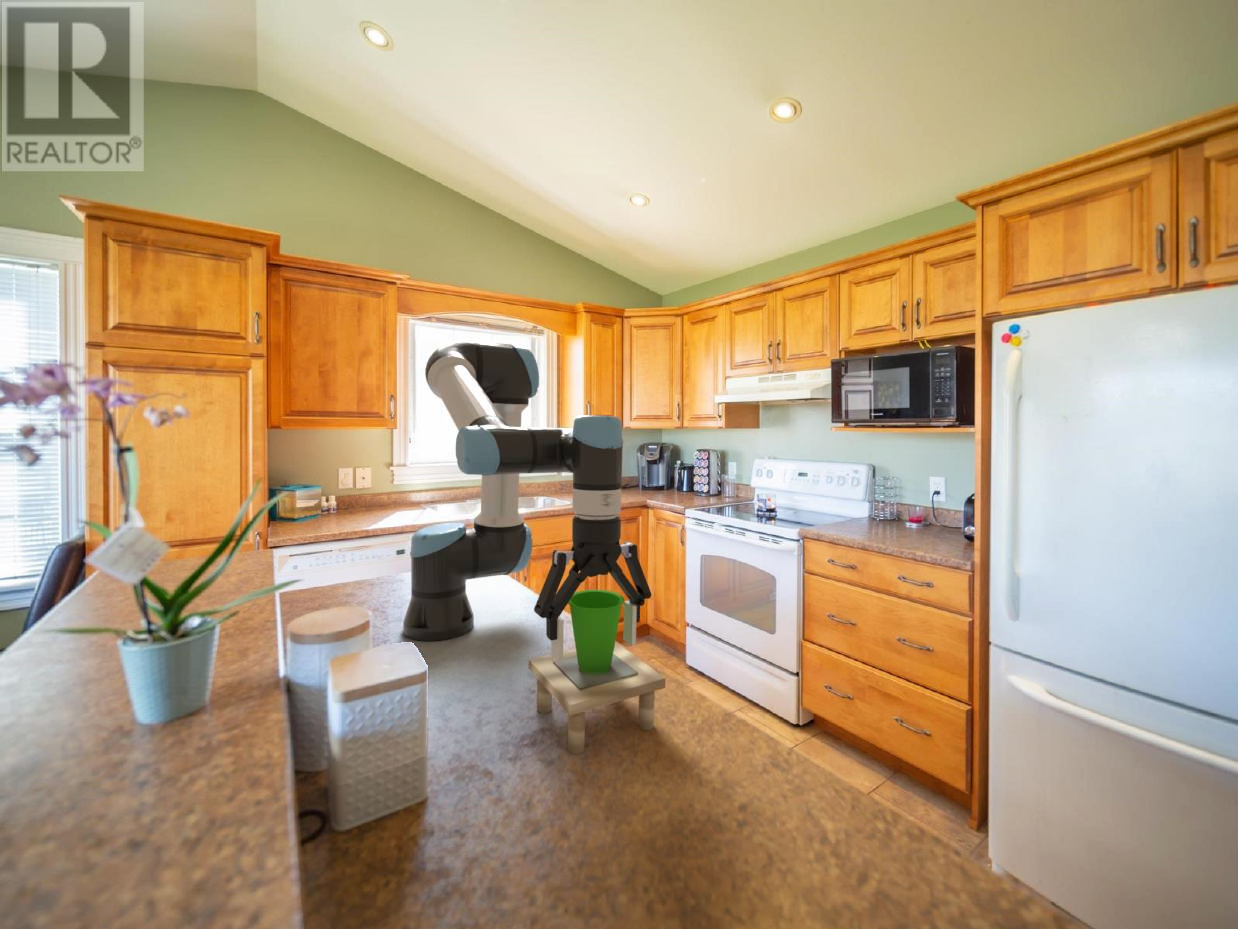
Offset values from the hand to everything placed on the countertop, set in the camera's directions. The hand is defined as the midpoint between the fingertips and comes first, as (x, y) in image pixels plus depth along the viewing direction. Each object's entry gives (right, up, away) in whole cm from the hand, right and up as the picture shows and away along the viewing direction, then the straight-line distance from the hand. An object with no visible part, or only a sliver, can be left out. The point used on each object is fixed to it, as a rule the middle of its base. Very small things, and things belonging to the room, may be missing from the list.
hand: (594, 650), depth 81 cm
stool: (0, -11, +1) cm, 11 cm away
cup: (0, -3, 0) cm, 3 cm away
